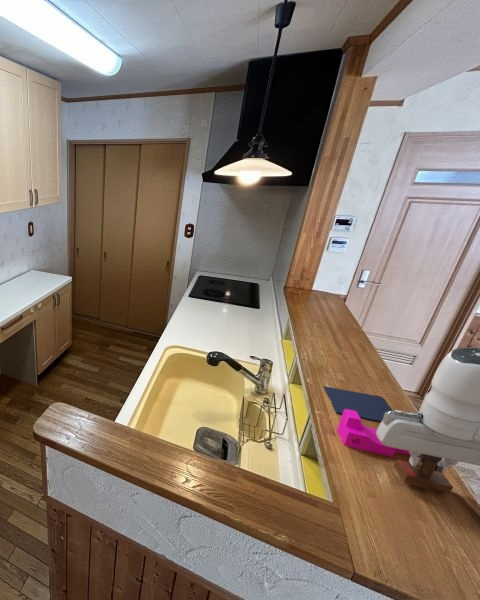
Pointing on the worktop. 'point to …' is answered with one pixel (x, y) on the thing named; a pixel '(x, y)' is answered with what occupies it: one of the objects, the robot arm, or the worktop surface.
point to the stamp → (424, 474)
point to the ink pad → (358, 403)
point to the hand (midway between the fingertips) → (425, 467)
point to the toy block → (362, 435)
